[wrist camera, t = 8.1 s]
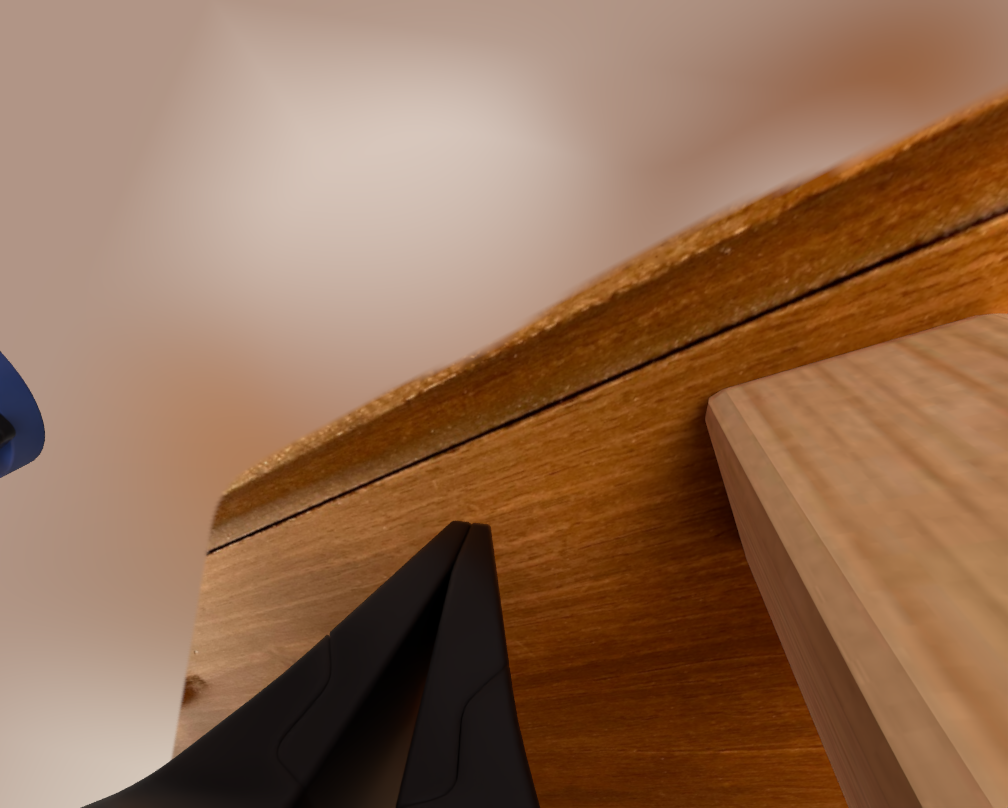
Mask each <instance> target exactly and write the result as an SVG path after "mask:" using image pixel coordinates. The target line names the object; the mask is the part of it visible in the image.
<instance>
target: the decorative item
mask: <svg viewBox="0 0 1008 808" xmlns="http://www.w3.org/2000/svg"><path fill="white" fill-rule="evenodd" d="M705 422H706V425H707V428H708V432H709V435H710V438H711V442H712V445H713V448H714V452H715V455H716V459H717V462H718V465H719V469H720V472H721V475H722V479H723V482H724V485H725V489H726V492H727V495H728V499H729V502H730V505H731V509H732V512H733V515H734V519H735V522H736V525H737V529H738V532H739V535H740V539H741V542H742V545H743V549H744V552H745V555H746V559H747V561H748V564H749V566H750V569H751V571H752V574H753V576H754V578H755V581H756V583H757V586H758V588H759V591H760V593H761V595H762V598H763V600H764V603H765V605H766V608H767V610H768V612H769V615H770V617H771V620H772V622H773V625H774V627H775V629H776V632H777V634H778V637H779V639H780V641H781V644H782V646H783V649H784V651H785V654H786V656H787V658H788V661H789V663H790V666H791V668H792V671H793V673H794V675H795V678H796V680H797V683H798V685H799V688H800V690H801V692H802V695H803V697H804V700H805V702H806V705H807V707H808V709H809V712H810V714H811V717H812V719H813V721H814V724H815V726H816V729H817V731H818V734H819V736H820V738H821V741H822V743H823V746H824V748H825V751H826V753H827V755H828V758H829V760H830V763H831V765H832V768H833V770H834V772H835V775H836V777H837V780H838V782H839V785H840V787H841V789H842V792H843V794H844V797H845V799H846V801H847V804H848V806H849V808H1008V314H986V315H977V316H973V317H969V318H966V319H962V320H959V321H955V322H952V323H949V324H945V325H942V326H938V327H935V328H931V329H928V330H925V331H921V332H918V333H914V334H911V335H907V336H904V337H900V338H897V339H894V340H890V341H887V342H883V343H880V344H876V345H873V346H870V347H866V348H863V349H859V350H856V351H852V352H849V353H846V354H842V355H839V356H835V357H832V358H828V359H825V360H821V361H818V362H815V363H811V364H808V365H804V366H801V367H797V368H794V369H791V370H787V371H784V372H780V373H777V374H773V375H770V376H767V377H763V378H760V379H756V380H753V381H749V382H746V383H743V384H739V385H736V386H732V387H729V388H725V389H722V390H721V391H719V392H717V393H716V394H714V395H713V396H711V397H710V398H709V401H708V407H707V412H706V416H705Z"/></svg>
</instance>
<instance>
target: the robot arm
mask: <svg viewBox="0 0 1008 808" xmlns="http://www.w3.org/2000/svg"><path fill="white" fill-rule="evenodd" d="M15 435H16V431H15V429H14V427H13V426H12V424H11V423H10V422H9V421H8V420H7V419H5V418H4V417H3V416H2V415H1V414H0V449H1V448H2V447H3V446H4V445H6V444H7V443H8V442H9V441H10V440H12V439H13V438H14V437H15ZM82 808H540V805H539V802H538V798H537V794H536V790H535V787H534V783H533V779H532V775H531V772H530V768H529V764H528V760H527V757H526V752H525V748H524V744H523V740H522V735H521V731H520V727H519V723H518V718H517V712H516V706H515V700H514V694H513V688H512V681H511V673H510V668H509V660H508V653H507V645H506V638H505V630H504V623H503V615H502V608H501V600H500V593H499V586H498V578H497V571H496V563H495V556H494V548H493V541H492V533H491V527H490V525H488V524H480V523H473V524H472V525H471V523H469V522H463V521H452V522H451V523H450V524H449V525H447V526H446V527H445V528H444V529H443V530H442V531H441V532H440V533H439V534H438V535H436V536H435V537H434V538H433V539H432V540H431V541H430V542H429V543H428V544H427V545H425V546H424V547H423V548H422V549H421V550H420V551H419V552H418V553H417V554H416V555H414V556H413V557H412V558H411V559H410V560H409V561H408V562H407V563H406V564H405V565H403V566H402V567H401V568H400V569H399V570H398V571H397V572H396V573H395V574H394V575H392V576H391V577H390V578H389V579H388V580H387V581H386V582H385V583H384V584H383V585H381V586H380V587H379V588H378V589H377V590H376V591H375V592H374V593H373V594H371V595H370V596H369V597H368V598H367V599H366V600H365V601H364V602H363V603H362V604H360V605H359V606H358V607H357V608H356V609H355V610H354V611H353V612H352V613H351V614H349V615H348V616H347V617H346V618H345V619H344V620H343V621H342V622H341V623H340V624H338V625H337V626H336V627H335V628H334V629H333V630H332V631H331V632H330V636H329V635H326V636H325V637H324V638H323V639H322V640H321V641H320V642H318V643H317V644H316V645H315V646H314V647H313V648H312V649H311V650H310V651H308V652H307V653H306V654H305V655H304V656H303V657H302V658H300V659H299V660H298V661H297V662H296V663H295V664H294V665H292V666H291V667H290V668H289V669H288V670H287V671H285V672H284V673H283V674H282V675H281V676H279V677H278V678H277V679H276V680H274V681H273V682H272V683H271V684H269V685H268V686H267V687H266V688H264V689H263V690H262V691H261V692H259V693H258V694H257V695H256V696H254V697H253V698H252V699H251V700H249V701H248V702H247V703H245V704H244V705H243V706H241V707H240V708H239V709H238V710H236V711H235V712H234V713H232V714H231V715H230V716H228V717H227V718H226V719H225V720H223V721H222V722H221V723H219V724H218V725H217V726H215V727H214V728H213V729H212V730H210V731H209V732H208V733H206V734H205V735H204V736H202V737H201V738H200V739H199V740H197V741H196V742H195V743H193V744H192V745H191V746H190V747H188V748H187V749H186V750H184V751H183V752H182V753H180V754H179V755H178V756H176V757H175V758H174V759H172V760H171V761H170V762H168V763H167V764H166V765H164V766H163V767H161V768H160V769H159V770H157V771H155V772H154V773H152V774H151V775H149V776H148V777H146V778H144V779H142V780H141V781H139V782H137V783H135V784H134V785H132V786H130V787H128V788H126V789H124V790H122V791H120V792H118V793H116V794H114V795H111V796H109V797H107V798H104V799H102V800H99V801H96V802H94V803H91V804H89V805H86V806H84V807H82Z"/></svg>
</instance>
